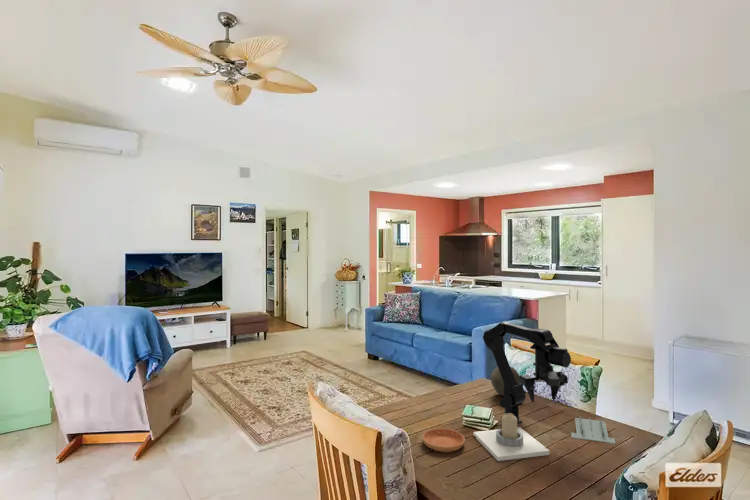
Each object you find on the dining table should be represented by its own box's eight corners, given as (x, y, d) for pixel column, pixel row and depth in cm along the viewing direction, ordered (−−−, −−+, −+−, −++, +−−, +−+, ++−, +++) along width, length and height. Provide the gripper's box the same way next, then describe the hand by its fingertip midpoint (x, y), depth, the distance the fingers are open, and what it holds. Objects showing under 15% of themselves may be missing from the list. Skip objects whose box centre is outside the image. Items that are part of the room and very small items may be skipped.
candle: (515, 445, 154) (515, 418, 154) (500, 441, 157) (500, 415, 157) (519, 439, 159) (518, 413, 159) (504, 436, 162) (504, 410, 162)
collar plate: (473, 435, 166) (473, 425, 166) (519, 430, 170) (519, 420, 170) (497, 461, 146) (497, 449, 146) (549, 454, 150) (549, 443, 150)
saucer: (439, 431, 170) (439, 424, 170) (473, 444, 159) (473, 436, 159) (413, 445, 159) (413, 437, 159) (448, 460, 148) (448, 451, 148)
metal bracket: (569, 412, 174) (610, 417, 169) (569, 423, 176) (609, 429, 170) (571, 435, 161) (616, 442, 156) (571, 448, 163) (615, 455, 158)
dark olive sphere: (488, 390, 216) (488, 361, 216) (516, 391, 215) (516, 362, 215) (493, 400, 202) (493, 369, 202) (523, 401, 201) (523, 370, 201)
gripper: (533, 369, 157) (533, 410, 157) (577, 365, 161) (577, 406, 161) (517, 361, 168) (517, 399, 168) (558, 358, 172) (559, 396, 172)
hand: (543, 400), depth 167 cm, fingers open, 9 cm apart
